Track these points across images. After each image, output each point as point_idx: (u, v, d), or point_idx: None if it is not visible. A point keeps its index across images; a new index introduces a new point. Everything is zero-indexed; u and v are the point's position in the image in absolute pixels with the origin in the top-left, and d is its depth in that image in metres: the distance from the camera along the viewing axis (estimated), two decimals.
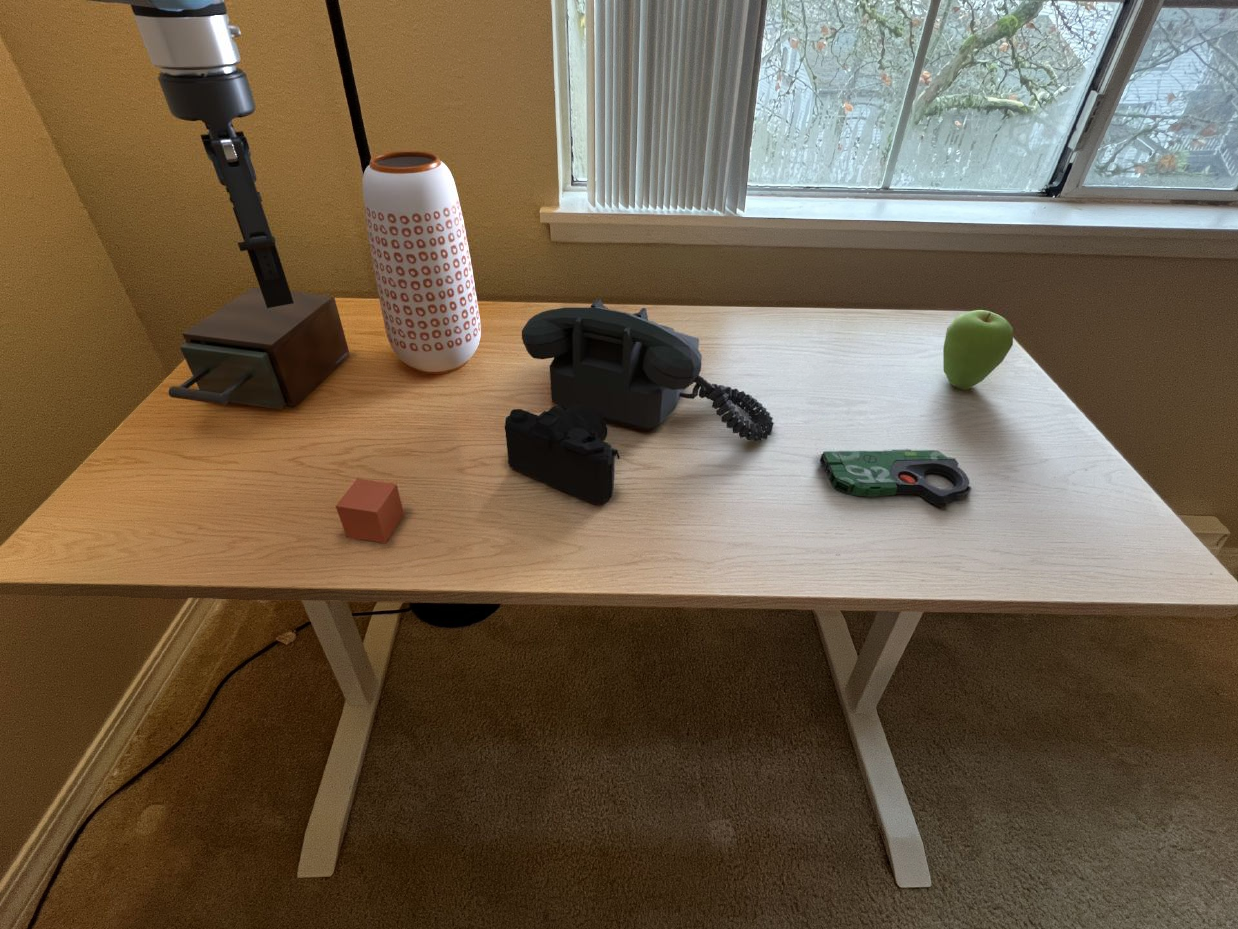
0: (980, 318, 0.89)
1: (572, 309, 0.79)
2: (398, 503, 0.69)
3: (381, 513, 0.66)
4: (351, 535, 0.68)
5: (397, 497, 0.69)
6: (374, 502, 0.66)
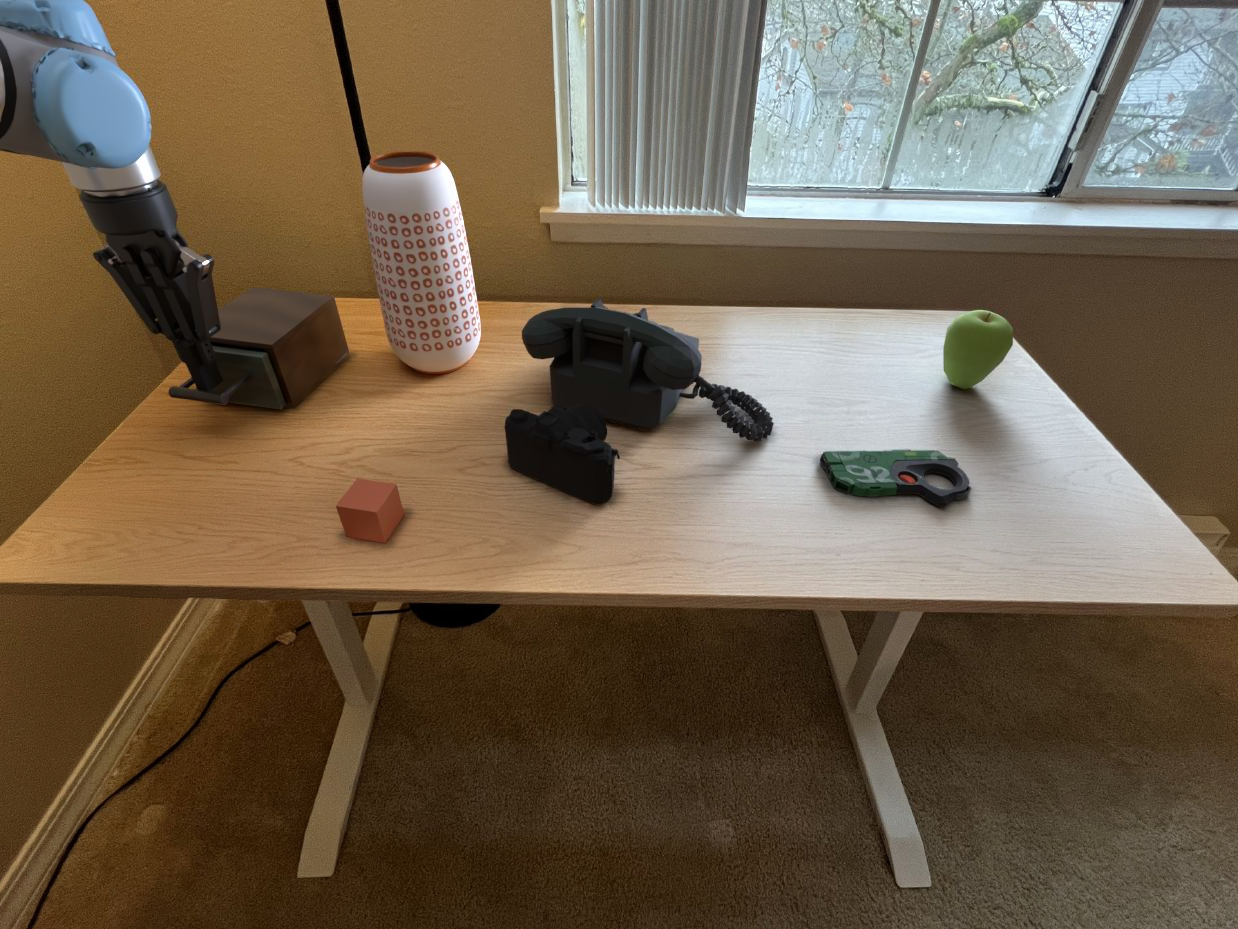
0: (980, 318, 0.89)
1: (572, 309, 0.79)
2: (398, 503, 0.69)
3: (381, 513, 0.66)
4: (351, 535, 0.68)
5: (397, 497, 0.69)
6: (374, 502, 0.66)
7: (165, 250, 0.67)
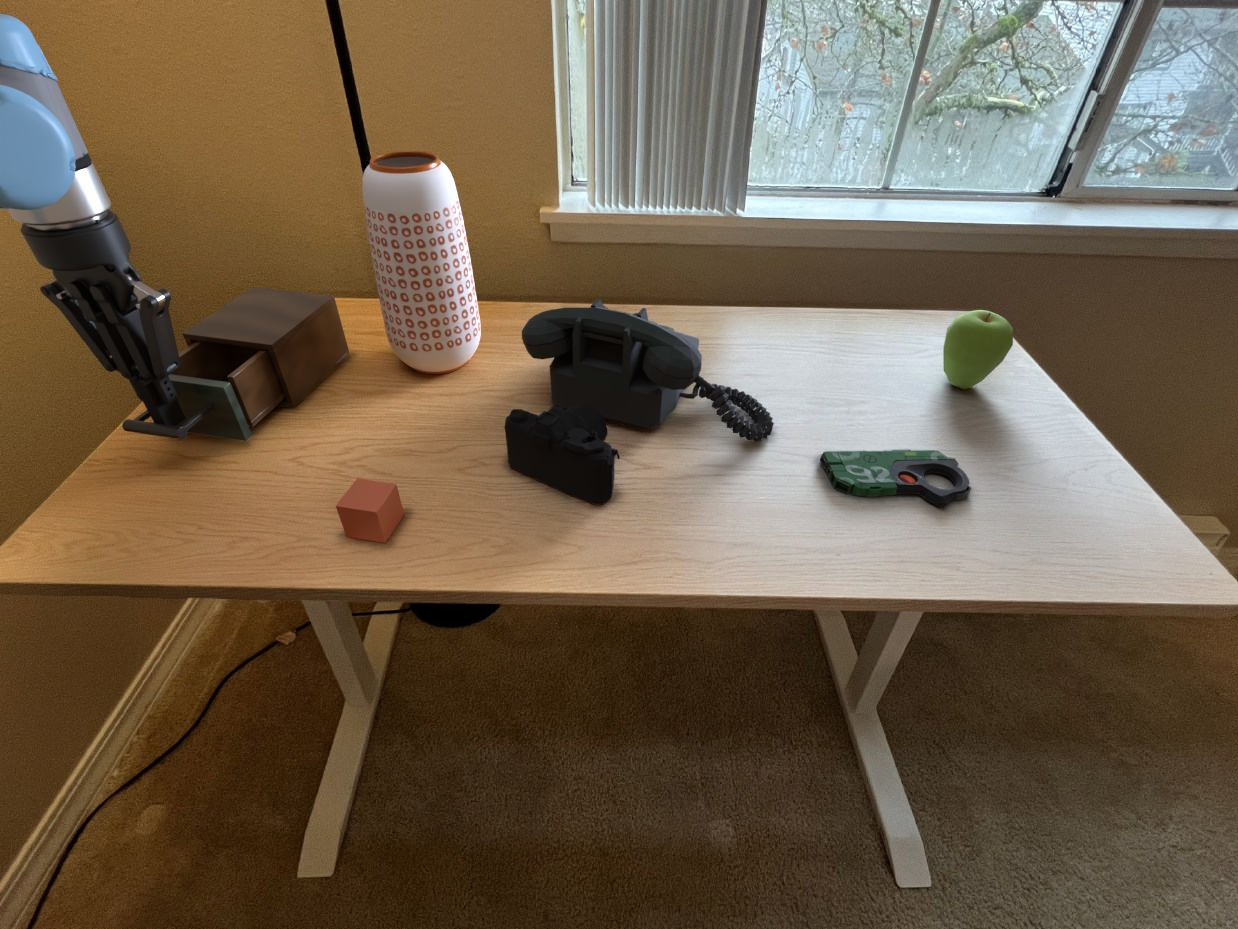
0: (980, 318, 0.89)
1: (572, 309, 0.79)
2: (398, 503, 0.69)
3: (381, 513, 0.66)
4: (351, 535, 0.68)
5: (397, 497, 0.69)
6: (374, 502, 0.66)
7: (116, 285, 0.62)
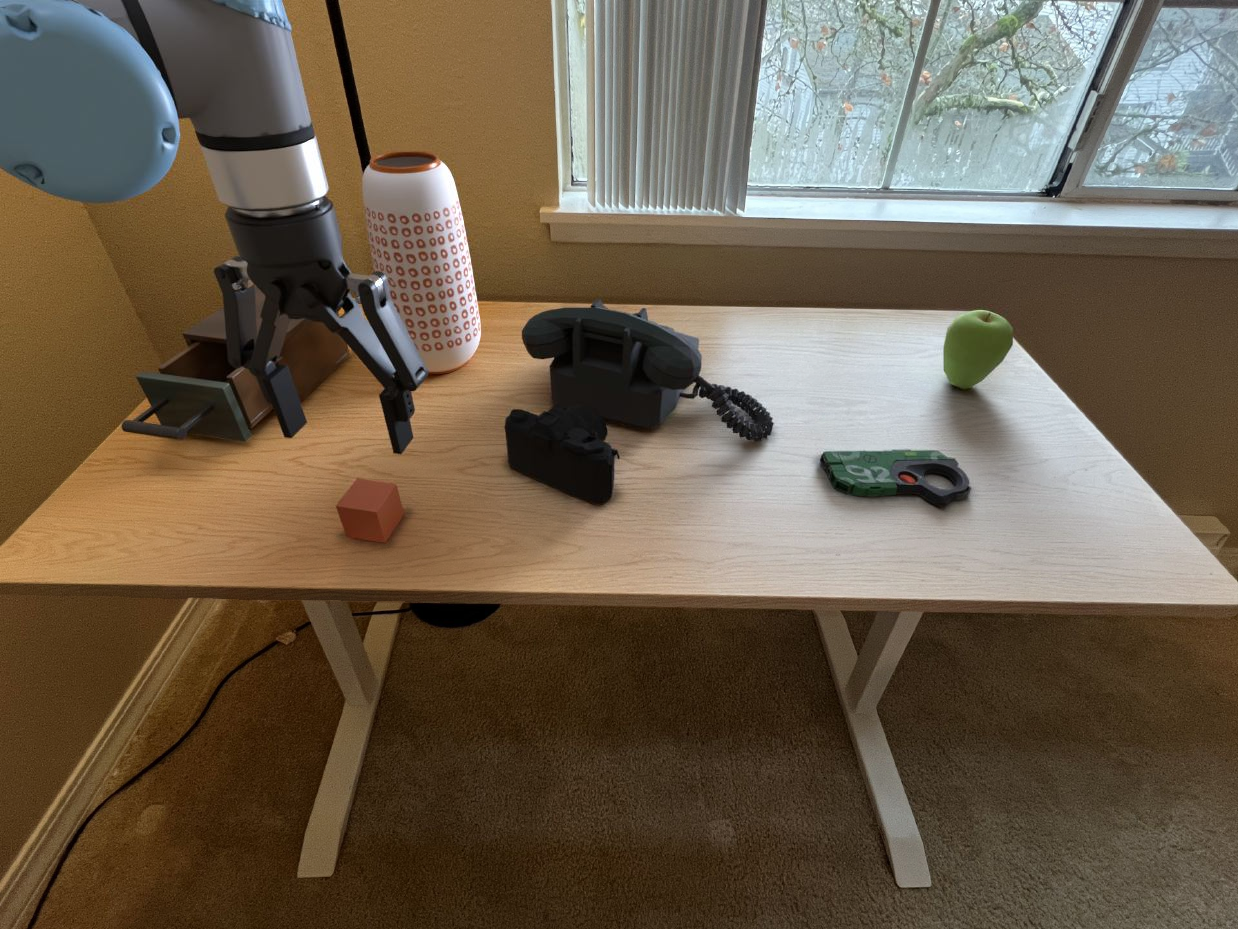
0: (980, 318, 0.89)
1: (572, 309, 0.79)
2: (398, 503, 0.69)
3: (381, 513, 0.66)
4: (351, 535, 0.68)
5: (397, 497, 0.69)
6: (374, 502, 0.66)
7: (328, 286, 0.51)
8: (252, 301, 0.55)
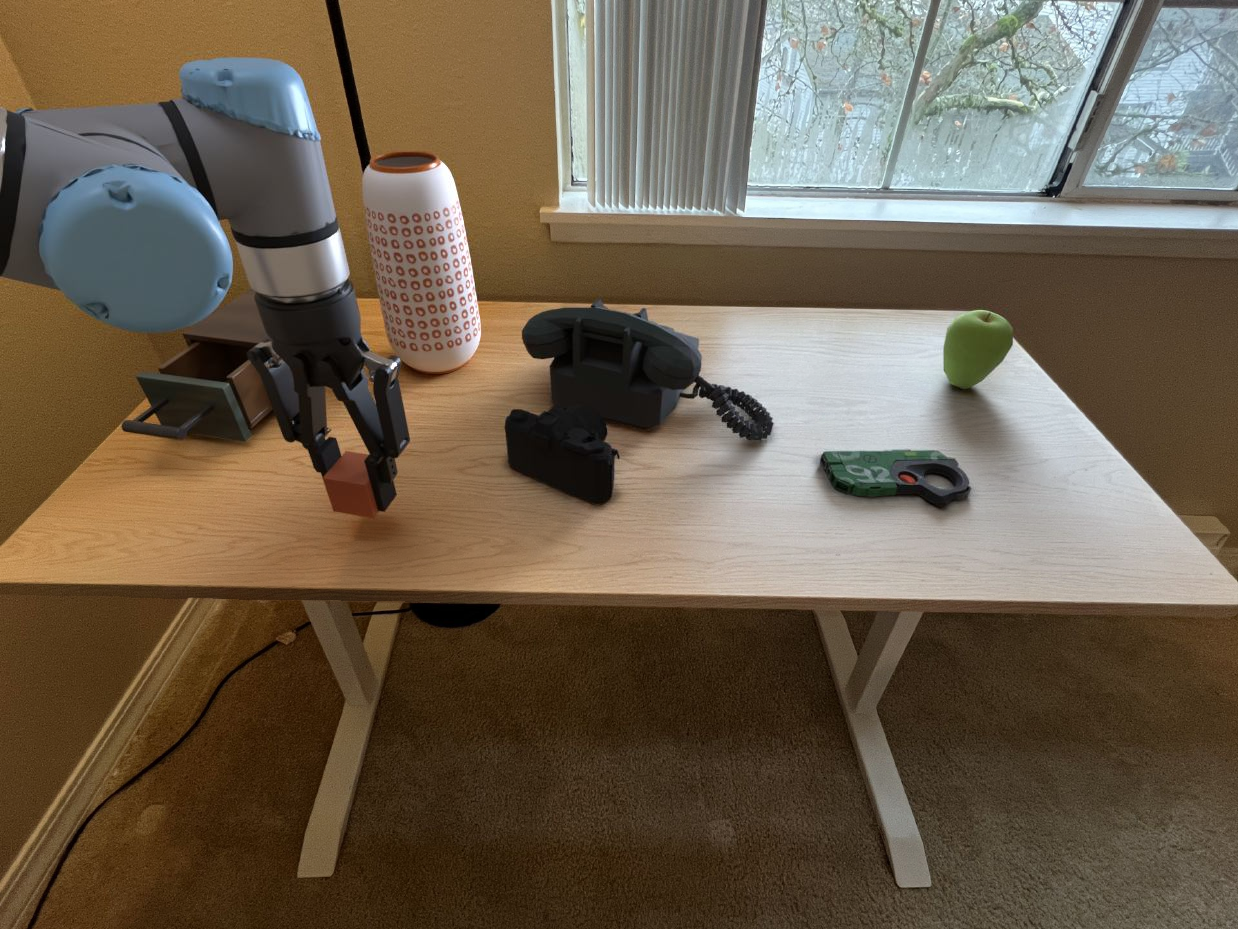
0: (980, 318, 0.89)
1: (572, 309, 0.79)
2: None
3: (370, 486, 0.63)
4: (338, 510, 0.65)
5: None
6: (362, 475, 0.63)
7: (347, 360, 0.55)
8: (289, 376, 0.59)
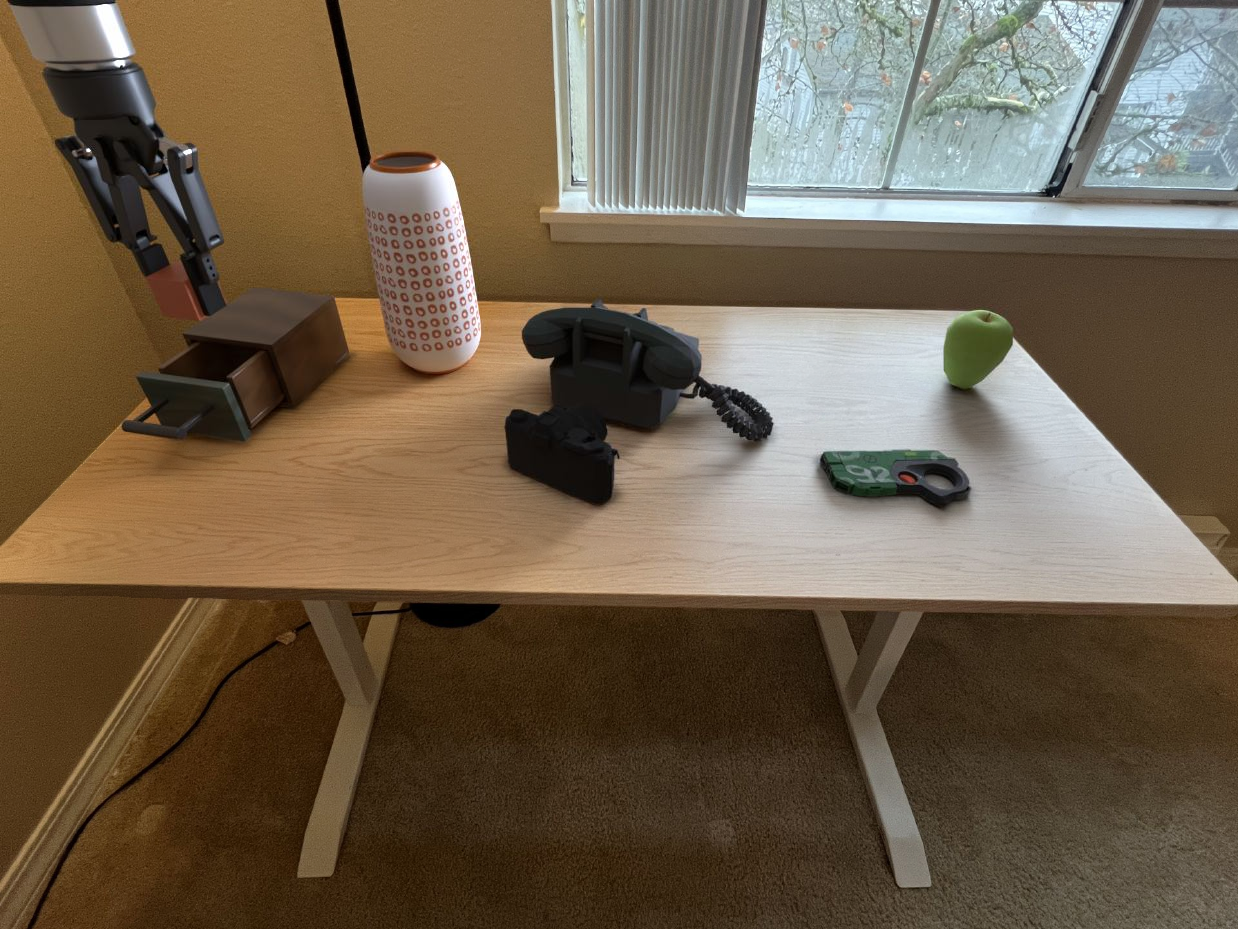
0: (980, 318, 0.89)
1: (572, 309, 0.79)
2: None
3: (190, 285, 0.68)
4: (167, 314, 0.70)
5: None
6: (183, 276, 0.68)
7: (141, 141, 0.59)
8: None
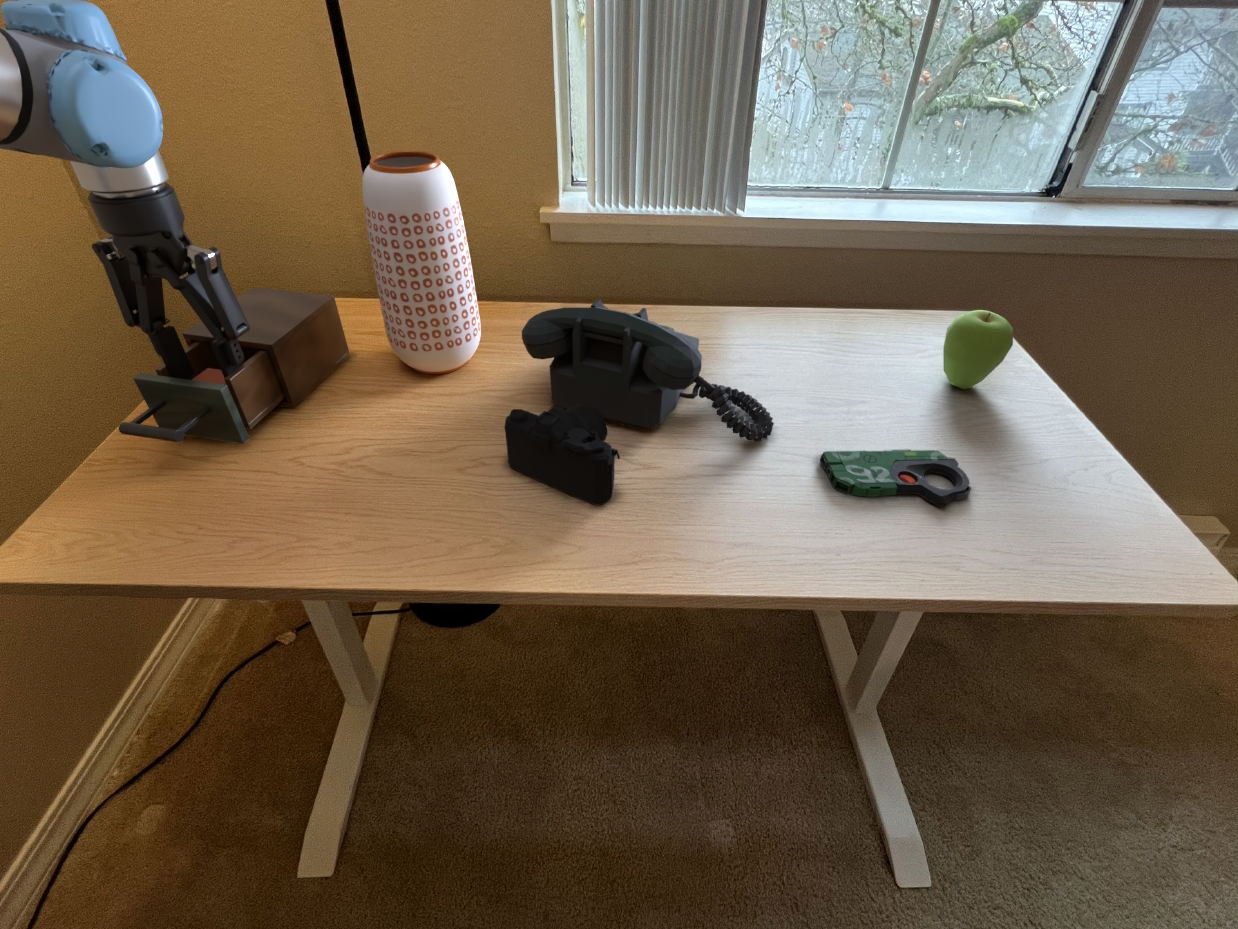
0: (980, 318, 0.89)
1: (572, 309, 0.79)
2: None
3: None
4: None
5: None
6: None
7: (171, 251, 0.68)
8: None
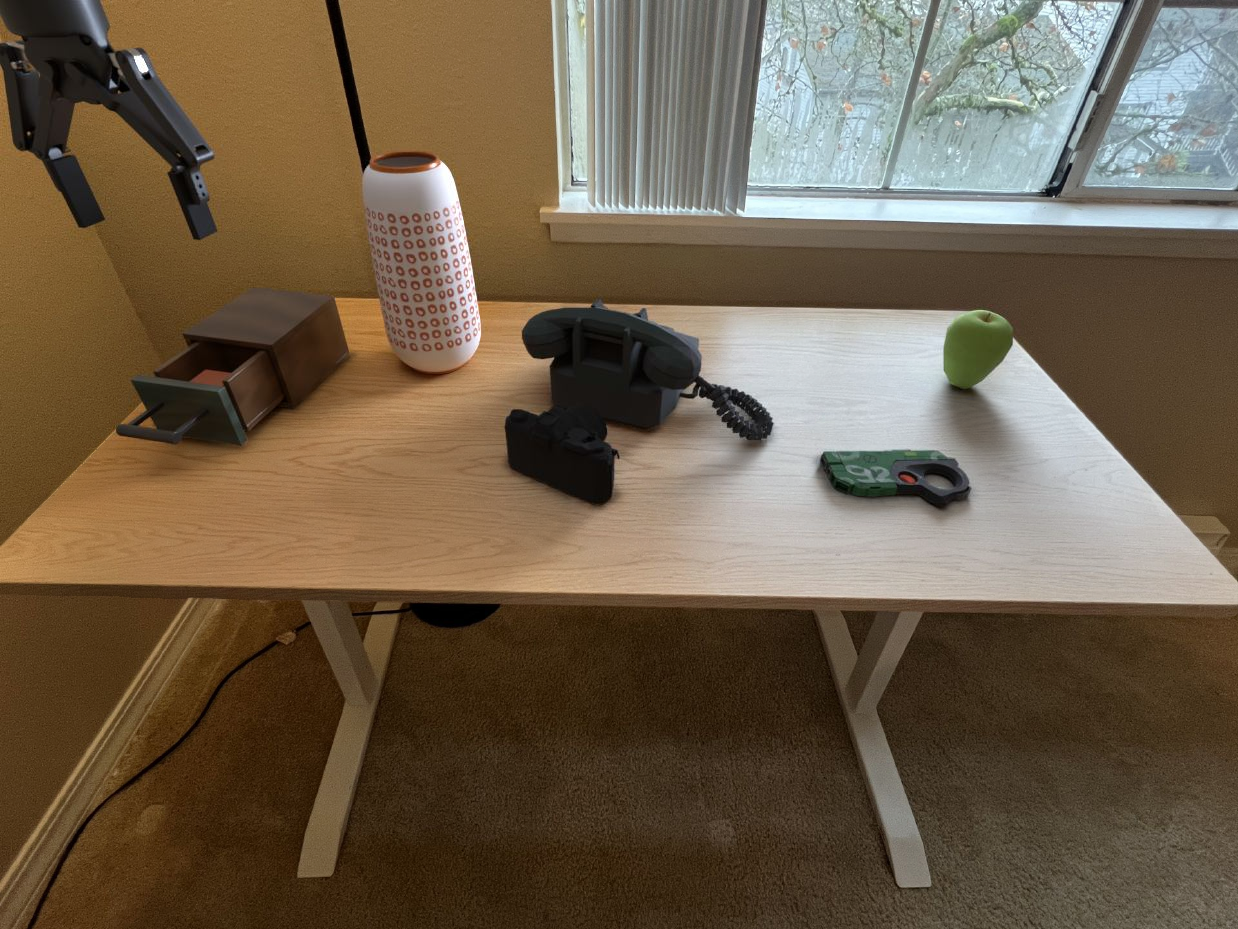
0: (980, 318, 0.89)
1: (572, 309, 0.79)
2: None
3: None
4: None
5: None
6: None
7: (93, 63, 0.57)
8: (36, 87, 0.61)
